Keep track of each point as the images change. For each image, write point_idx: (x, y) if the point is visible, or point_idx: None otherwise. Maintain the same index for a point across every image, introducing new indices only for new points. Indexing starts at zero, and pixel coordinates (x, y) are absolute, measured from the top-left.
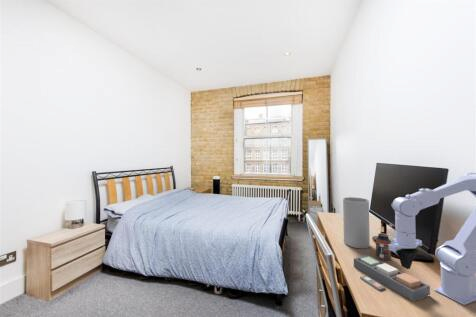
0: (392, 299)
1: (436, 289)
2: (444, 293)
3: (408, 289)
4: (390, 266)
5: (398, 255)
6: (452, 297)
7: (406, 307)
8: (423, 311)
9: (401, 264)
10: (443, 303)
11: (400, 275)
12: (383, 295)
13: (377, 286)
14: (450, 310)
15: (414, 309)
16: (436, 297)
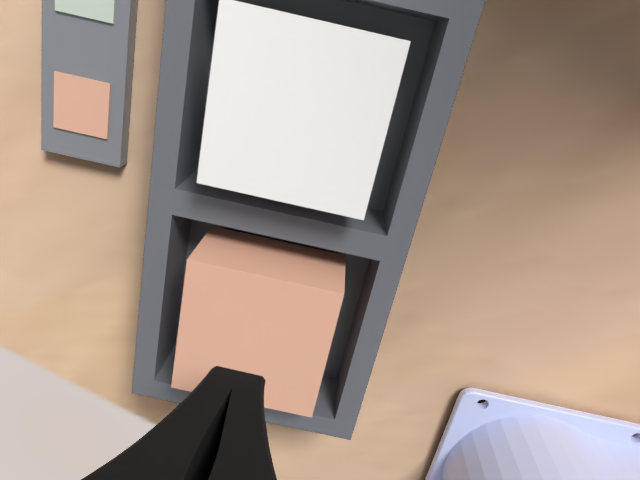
0: (48, 252)
1: (469, 401)
2: (455, 439)
3: (134, 361)
4: (364, 133)
5: (112, 467)
6: (439, 475)
7: (58, 335)
8: (123, 401)
9: (203, 381)
10: (331, 444)
11: (237, 286)
12: (26, 193)
13: (58, 120)
14: (285, 476)
15: (89, 368)
16: (370, 408)
